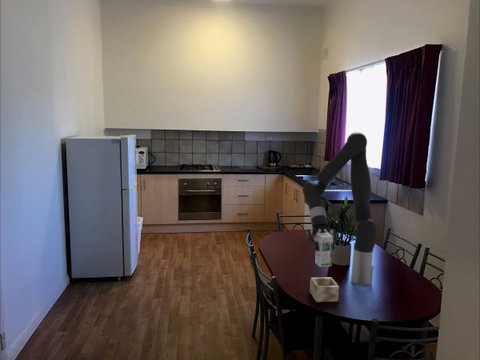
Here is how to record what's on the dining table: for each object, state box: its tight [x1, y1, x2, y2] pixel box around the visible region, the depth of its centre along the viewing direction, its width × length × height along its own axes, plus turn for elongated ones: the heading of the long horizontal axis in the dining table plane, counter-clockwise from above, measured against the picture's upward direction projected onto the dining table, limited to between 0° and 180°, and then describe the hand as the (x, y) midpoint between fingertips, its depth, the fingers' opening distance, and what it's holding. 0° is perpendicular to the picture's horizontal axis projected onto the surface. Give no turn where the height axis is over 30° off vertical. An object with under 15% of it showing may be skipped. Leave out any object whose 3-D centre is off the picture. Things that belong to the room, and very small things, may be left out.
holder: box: [309, 276, 340, 303], centre depth 177 cm, size 10×10×7 cm
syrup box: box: [314, 232, 333, 268], centre depth 176 cm, size 6×6×14 cm
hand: (325, 250), depth 175 cm, fingers closed on syrup box, 6 cm apart
